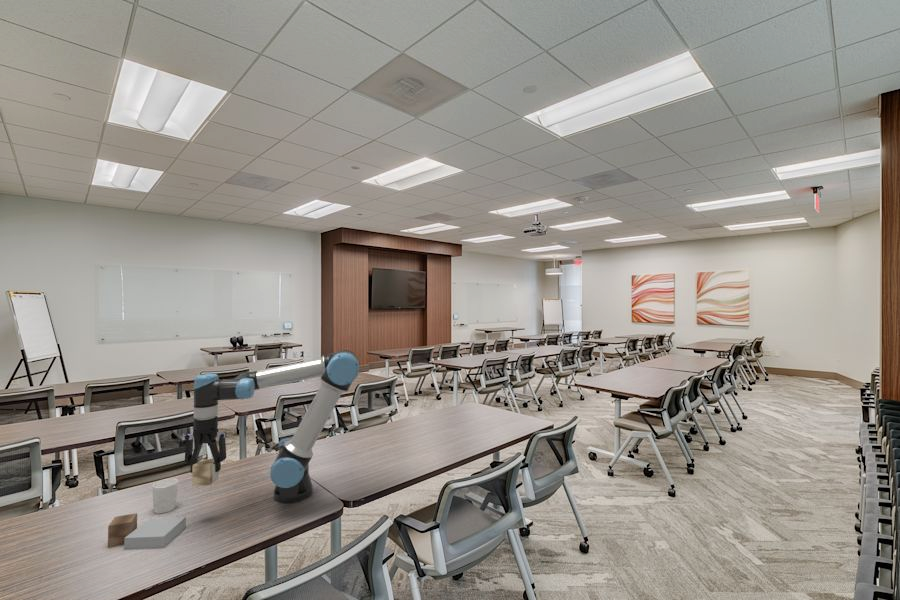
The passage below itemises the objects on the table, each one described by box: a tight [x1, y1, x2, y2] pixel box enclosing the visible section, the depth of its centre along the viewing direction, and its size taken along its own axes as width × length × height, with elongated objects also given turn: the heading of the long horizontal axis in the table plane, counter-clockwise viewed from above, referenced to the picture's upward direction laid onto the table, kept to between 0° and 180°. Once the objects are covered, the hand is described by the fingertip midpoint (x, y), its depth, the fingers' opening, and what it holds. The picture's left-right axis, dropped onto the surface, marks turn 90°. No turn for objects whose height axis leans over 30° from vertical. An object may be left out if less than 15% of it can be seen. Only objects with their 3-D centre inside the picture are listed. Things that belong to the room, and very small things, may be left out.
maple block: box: [191, 458, 215, 487], centre depth 143 cm, size 6×6×7 cm
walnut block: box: [107, 512, 138, 548], centre depth 130 cm, size 6×6×7 cm
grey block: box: [123, 516, 187, 550], centre depth 131 cm, size 12×12×4 cm
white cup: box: [152, 478, 179, 514], centre depth 150 cm, size 8×8×10 cm
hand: (205, 480), depth 143 cm, fingers closed on maple block, 6 cm apart
